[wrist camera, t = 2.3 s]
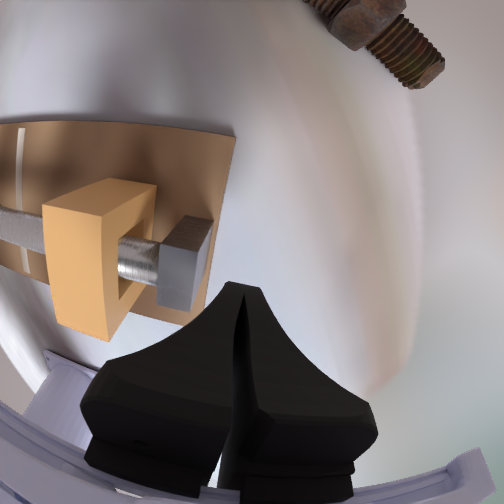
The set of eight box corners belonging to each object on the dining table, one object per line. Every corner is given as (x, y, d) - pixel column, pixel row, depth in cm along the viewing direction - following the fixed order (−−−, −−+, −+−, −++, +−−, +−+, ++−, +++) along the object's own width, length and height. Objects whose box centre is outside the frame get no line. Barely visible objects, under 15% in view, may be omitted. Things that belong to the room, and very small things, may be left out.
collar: (157, 185, 14) (101, 216, 8) (149, 281, 16) (109, 342, 11) (109, 177, 13) (41, 204, 8) (106, 269, 16) (57, 322, 10)
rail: (216, 217, 15) (197, 253, 11) (207, 265, 16) (189, 314, 12) (-18, 177, 14) (-58, 192, 9) (-16, 210, 15) (-54, 229, 11)
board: (236, 137, 13) (235, 137, 13) (201, 324, 18) (199, 330, 18) (-16, 126, 12) (-22, 127, 11) (-11, 254, 17) (-15, 257, 16)
